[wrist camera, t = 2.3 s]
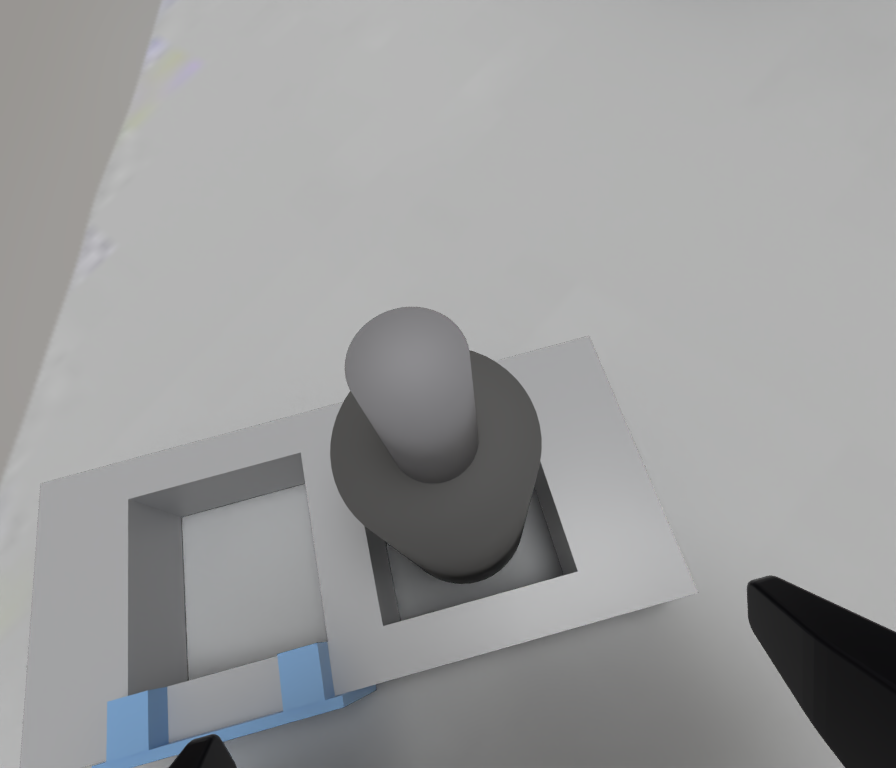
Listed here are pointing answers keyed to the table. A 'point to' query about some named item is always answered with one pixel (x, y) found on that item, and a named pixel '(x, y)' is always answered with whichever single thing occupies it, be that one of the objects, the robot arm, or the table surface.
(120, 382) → the table surface
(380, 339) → the plug
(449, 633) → the cinder block
